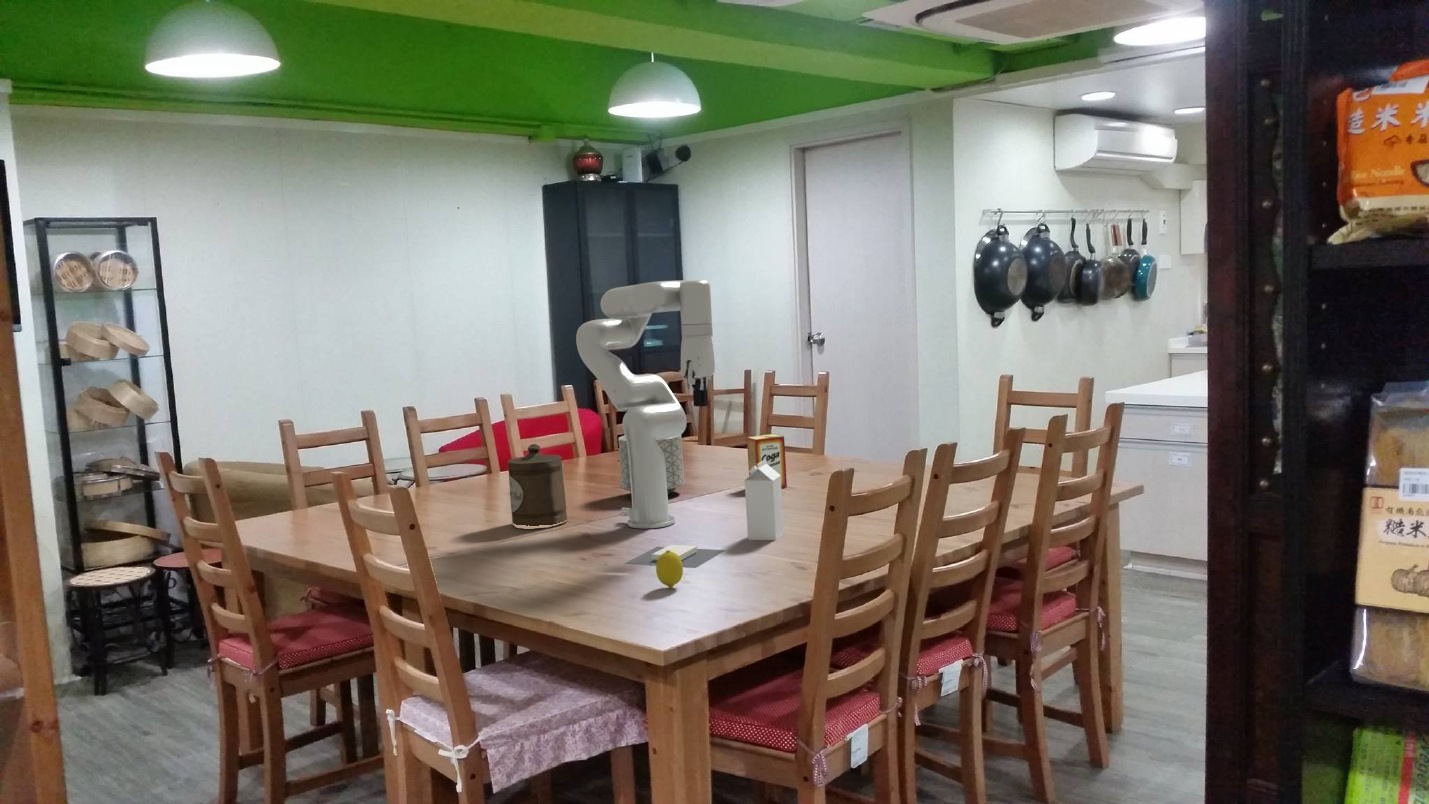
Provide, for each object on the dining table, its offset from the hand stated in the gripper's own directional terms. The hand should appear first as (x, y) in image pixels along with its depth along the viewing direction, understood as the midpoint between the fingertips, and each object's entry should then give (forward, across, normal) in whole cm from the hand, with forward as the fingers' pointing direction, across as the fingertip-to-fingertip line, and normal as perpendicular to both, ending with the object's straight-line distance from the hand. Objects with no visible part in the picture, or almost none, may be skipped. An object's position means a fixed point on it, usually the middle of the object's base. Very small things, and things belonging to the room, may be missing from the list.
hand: (701, 405), depth 269 cm
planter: (+34, -46, -41) cm, 71 cm away
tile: (+31, +18, +3) cm, 36 cm away
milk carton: (+33, -1, +16) cm, 36 cm away
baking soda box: (+33, -63, -11) cm, 72 cm away
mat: (+33, +23, +3) cm, 40 cm away
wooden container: (+34, -4, -54) cm, 63 cm away
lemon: (+32, +44, +13) cm, 57 cm away
